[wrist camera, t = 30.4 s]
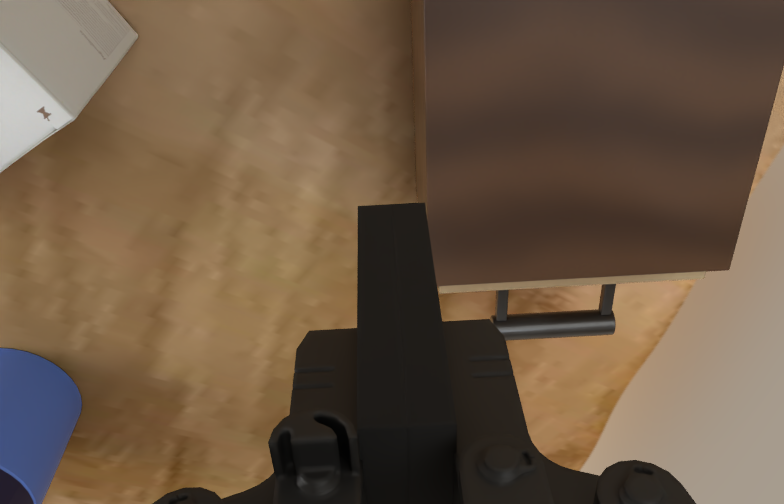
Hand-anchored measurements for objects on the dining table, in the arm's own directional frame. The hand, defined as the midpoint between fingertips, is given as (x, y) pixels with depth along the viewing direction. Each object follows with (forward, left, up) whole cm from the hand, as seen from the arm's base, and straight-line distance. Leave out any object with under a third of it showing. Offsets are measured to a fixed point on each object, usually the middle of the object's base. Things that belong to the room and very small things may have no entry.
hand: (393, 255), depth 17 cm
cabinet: (+10, +1, -24) cm, 26 cm away
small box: (-14, -10, -25) cm, 30 cm away
